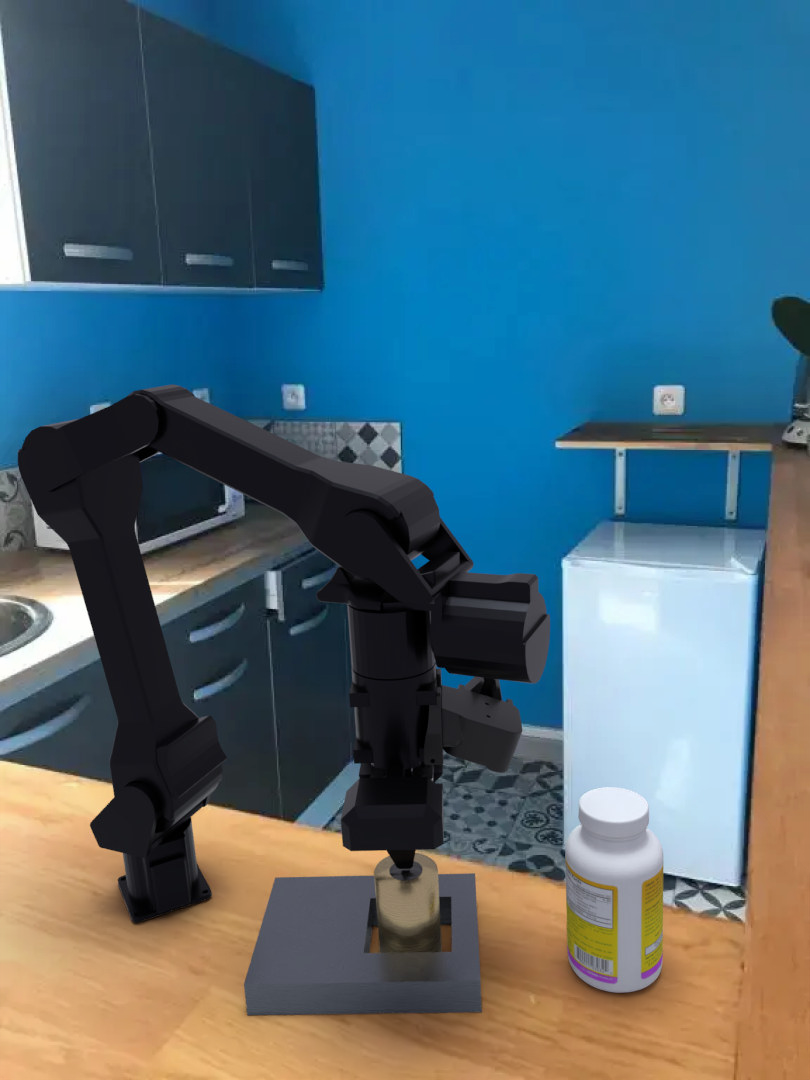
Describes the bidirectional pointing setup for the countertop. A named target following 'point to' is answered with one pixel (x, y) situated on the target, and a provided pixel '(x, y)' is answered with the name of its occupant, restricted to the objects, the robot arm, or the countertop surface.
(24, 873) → the countertop surface
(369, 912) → the jig
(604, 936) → the supplement bottle
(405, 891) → the bushing
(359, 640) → the robot arm
